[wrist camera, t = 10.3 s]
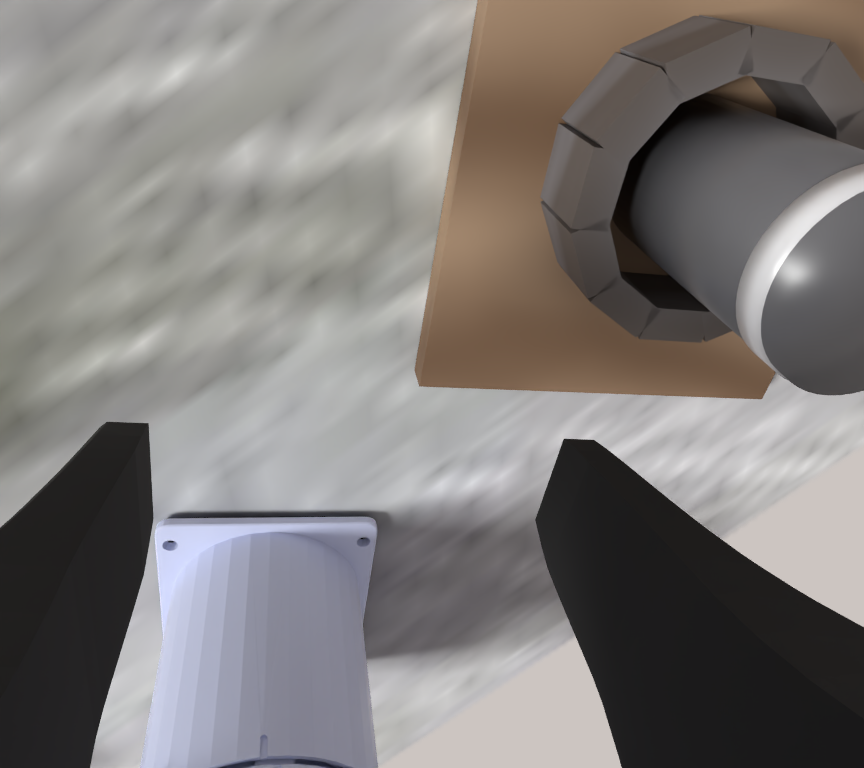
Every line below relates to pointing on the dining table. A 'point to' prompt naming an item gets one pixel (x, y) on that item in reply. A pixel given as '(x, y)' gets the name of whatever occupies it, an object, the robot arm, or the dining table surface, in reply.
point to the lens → (758, 233)
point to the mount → (606, 186)
